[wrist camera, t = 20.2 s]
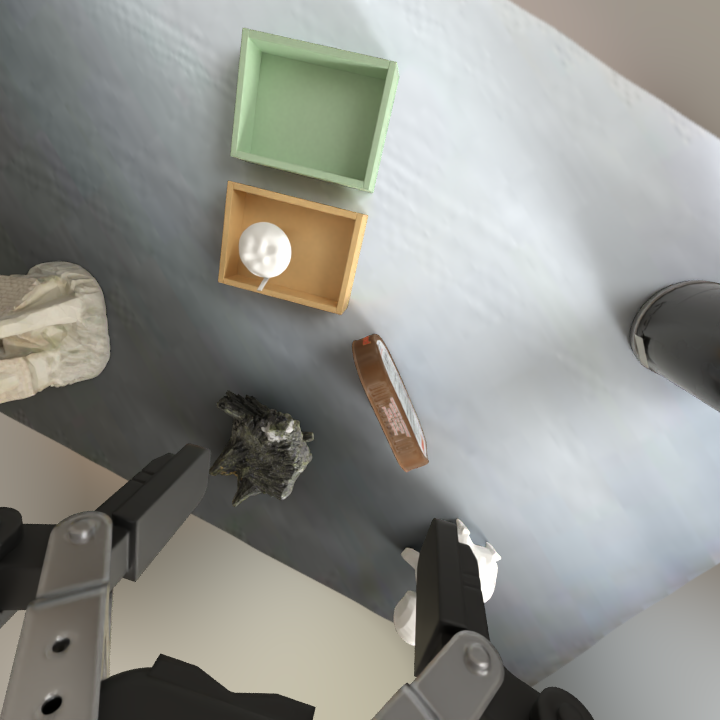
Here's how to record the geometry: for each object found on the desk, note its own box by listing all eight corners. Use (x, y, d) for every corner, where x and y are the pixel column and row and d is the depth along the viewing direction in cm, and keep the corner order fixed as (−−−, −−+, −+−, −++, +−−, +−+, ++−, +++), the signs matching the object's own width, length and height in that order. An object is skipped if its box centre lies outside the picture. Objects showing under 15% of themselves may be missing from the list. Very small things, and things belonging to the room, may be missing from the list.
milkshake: (275, 275, 41) (232, 290, 32) (271, 222, 39) (225, 221, 30) (316, 276, 41) (285, 291, 31) (314, 222, 39) (280, 221, 30)
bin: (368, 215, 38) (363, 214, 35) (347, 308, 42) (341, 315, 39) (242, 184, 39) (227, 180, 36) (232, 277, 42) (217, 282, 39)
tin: (356, 332, 42) (341, 356, 34) (382, 321, 41) (373, 344, 34) (407, 445, 46) (404, 490, 38) (432, 437, 45) (434, 482, 37)
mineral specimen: (186, 386, 42) (189, 461, 35) (301, 366, 46) (325, 430, 39) (209, 467, 51) (215, 538, 44) (303, 444, 55) (322, 507, 48)
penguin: (441, 501, 51) (370, 589, 51) (464, 532, 43) (379, 638, 43) (488, 538, 52) (419, 625, 52) (520, 576, 44) (437, 680, 43)
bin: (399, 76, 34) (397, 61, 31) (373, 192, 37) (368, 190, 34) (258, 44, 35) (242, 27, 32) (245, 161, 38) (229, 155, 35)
